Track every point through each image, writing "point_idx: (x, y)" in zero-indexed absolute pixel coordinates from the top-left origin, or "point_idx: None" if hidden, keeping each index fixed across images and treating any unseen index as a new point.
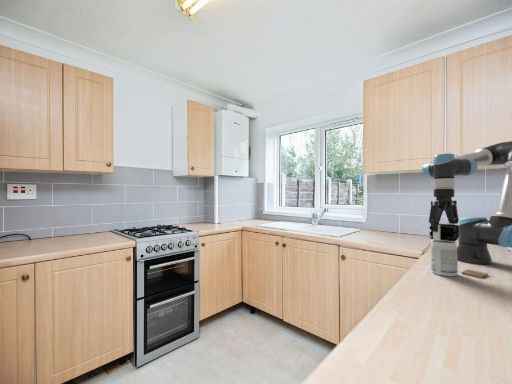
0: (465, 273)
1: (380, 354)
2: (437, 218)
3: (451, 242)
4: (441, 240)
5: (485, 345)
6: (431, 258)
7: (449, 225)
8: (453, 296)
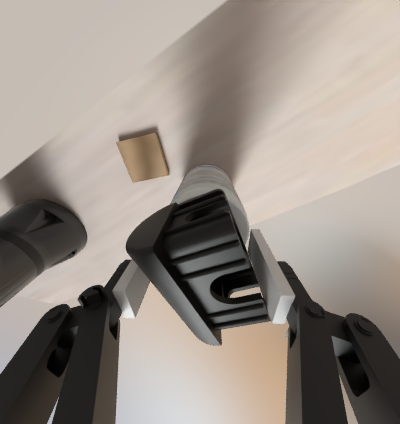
0: (166, 167)
1: None
2: (334, 374)
3: None
4: None
5: None
6: None
7: (180, 281)
8: (377, 53)
